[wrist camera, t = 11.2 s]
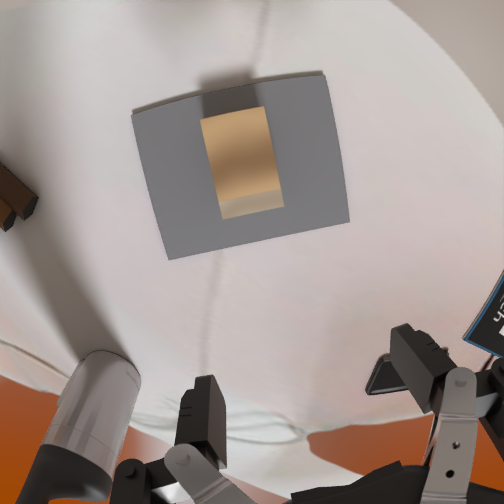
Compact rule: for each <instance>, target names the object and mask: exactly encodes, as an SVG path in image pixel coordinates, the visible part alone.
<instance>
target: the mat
mask: <svg viewBox="0 0 504 504" xmlns="http://www.w3.org/2000/svg"><path fill="white" fill-rule="evenodd" d="M262 106H264V109H265V114H266V118H267V123H268V127H269V132H270V137H271V142H272V147H273V151H274V156H275V161H276V166H277V171H278V177H279V182H280V187H281V191H282V197H283V202H284V207H279V208H274V209H270V210H265V211H260V212H255V213H251V214H246V215H241V216H237V217H232V218H228V219H223V218H222V214H221V210H220V206H219V201H218V197H217V193H216V188H215V184H214V180H213V176H212V171H211V167H210V163H209V158H208V154H207V150H206V145H205V141H204V136H203V132H202V127H201V123H200V120H201V119H205V118H209V117H213V116H218V115H222V114H227V113H231V112H236V111H241V110H246V109H251V108H257V107H262ZM131 118H132V123H133V128H134V132H135V137H136V142H137V146H138V150H139V155H140V159H141V163H142V167H143V171H144V175H145V179H146V183H147V187H148V191H149V195H150V198H151V202H152V206H153V209H154V213H155V216H156V220H157V223H158V227H159V230H160V234H161V237H162V240H163V244H164V247H165V250H166V253H167V257H168V260H173V259H177V258H182V257H186V256H191V255H196V254H200V253H205V252H210V251H214V250H219V249H224V248H228V247H233V246H238V245H242V244H247V243H252V242H257V241H261V240H266V239H271V238H276V237H280V236H285V235H290V234H295V233H299V232H304V231H309V230H314V229H319V228H324V227H329V226H333V225H338V224H343V223H348V222H350V219H349V210H348V201H347V193H346V186H345V178H344V172H343V165H342V158H341V152H340V146H339V140H338V135H337V129H336V124H335V119H334V114H333V109H332V104H331V99H330V94H329V90H328V86H327V81H326V77H325V75H318V76H307V77H297V78H289V79H281V80H274V81H267V82H261V83H255V84H249V85H243V86H238V87H233V88H228V89H223V90H219V91H214V92H210V93H206V94H202V95H197V96H194V97H190V98H186V99H182V100H179V101H175V102H171V103H168V104H165V105H161V106H158V107H155V108H152V109H149V110H145V111H142V112H139V113H136V114H134V115H131Z"/></svg>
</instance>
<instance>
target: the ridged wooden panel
mask: <svg viewBox="0 0 504 504" xmlns="http://www.w3.org/2000/svg"><path fill="white" fill-rule="evenodd" d="M38 199H39V197H38V196H37V195H36V194H35V193H33V192H32V191H31V190H30V189H29V188H28V187H27V186H25V185H24V184H23V183H22V182H21V181H20V180H19V179H18V178H17V177H16V176H14V175H13V174H12V173H11V172H10V171H9V170H8V169H7V168H6V167H5V166H4V165H3V164H2V163H1V162H0V227H1V228H2V229H3V230H4V231H5V232H6V231H7V230H9V229H10V228H11V227H12V226H13V224H14V221H15V218H16V215H18V216H19V217H21V218H22V219H23V220H24V221H25V220H26V219H27V218H28V217H29V216H31V215H32V214H33V211H34V209H35V206H36V203H37V201H38Z"/></svg>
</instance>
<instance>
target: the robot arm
mask: <svg viewBox="0 0 504 504" xmlns="http://www.w3.org/2000/svg"><path fill="white" fill-rule="evenodd" d="M390 359H391V363H392V365H393V367H394V368H395V370H396V371H397V373H398V374H399V376H400V377H401V379H402V380H403V382H404V383H405V385H406V386H407V388H408V389H409V391H410V393H411V394H412V396H413V397H414V399H415V400H416V402H417V404H418V405H419V407H420V408H421V410H422V411H423V413H424V414H426V413H428V412H430V411H433V412H434V414H435V415H434V418H433V423H432V428H431V432H430V437H429V440H428V445H427V448H426V452H425V455H424V458H423V460H422V463H421V465H404V466H402V465H401V463H400V461H396V462H394V463H392V464H389V465H386V466H384V467H381V468H379V469H376V470H374V471H372V472H371V473H369V474H367V475H366V476H364V477H362V478H360V479H359V480H357V481H355V482H354V483H352V484H350V485H345V486H332V487H317V488H313V489H309V490H305V491H300V492H295V493H291V498H292V499H291V500H289V501H286V502H285V503H283V504H504V491H500V490H496V489H493V488H489V487H486V486H482V485H479V484H476V483H473V482H470V481H469V480H470V474H471V469H472V464H473V459H474V451H475V445H476V437H477V428H478V419H479V421H480V422H481V424H482V426H483V427H484V429H485V430H486V432H487V434H488V435H489V437H490V439H491V440H492V442H493V443H494V445H495V447H496V449H497V450H498V452H499V454H500V456H501V458H502V459H503V461H504V357H502V358H498V359H496V360H495V361H494V362H493V364H492V366H491V369H489V370H485V371H481V372H476V373H474V372H473V371H472V370H470V369H468V368H465V367H457V365H456V364H455V363H454V362H453V361H452V360H451V359H450V357H449V356H448V355H447V354H446V353H445V352H444V351H443V350H442V349H441V348H440V346H439V345H438V344H437V343H435V341H434V340H433V339H432V338H431V336H430V335H429V334H427V333H425V332H423V331H421V330H418V331H415V330H414V329H413V328H412V327H411V326H410V325H409V324H408V323H405V324H403V325H400V326H397V327H394V328H392V329H391V339H390ZM140 387H141V379H140V376H139V373H138V372H137V370H136V369H135V368H134V367H133V366H132V365H131V364H130V363H129V362H128V361H127V360H125V359H124V358H122V357H120V356H118V355H116V354H114V353H111V352H107V351H95V352H93V353H90V354H89V355H88V356H87V358H86V359H85V360H82V361H80V362H79V364H78V365H77V367H76V369H75V371H74V372H73V374H72V376H71V377H70V379H69V381H68V383H67V385H66V386H65V388H64V390H63V392H62V394H61V395H60V397H59V399H58V401H57V407H58V410H57V412H56V414H55V416H54V418H53V420H52V422H51V424H50V426H49V429H48V431H47V433H46V435H45V437H44V439H43V441H42V444H41V446H40V448H39V450H38V452H37V455H36V457H35V460H34V462H33V465H32V467H31V469H30V472H29V474H28V477H27V479H26V481H25V483H24V486H23V488H22V490H21V493H20V494H19V497H18V499H17V501H16V503H15V504H48V502H49V501H50V500H52V499H58V498H60V499H61V498H67V499H76V500H82V501H89V502H102V501H105V500H107V499H108V497H109V495H110V492H111V496H110V503H109V504H176V503H177V502H181V501H184V500H187V499H191V498H192V499H193V500H194V503H195V504H257V503H255V502H254V501H253V500H252V499H251V498H249V497H248V496H247V495H246V494H245V493H244V492H243V491H241V490H240V489H239V488H238V487H237V486H236V485H235V484H234V483H232V482H231V481H230V480H229V479H226V478H225V477H224V476H223V475H222V474H221V473H220V472H219V469H227V454H226V405H225V400H224V397H223V395H222V393H221V390H220V388H219V386H218V384H217V381H216V379H215V377H214V375H206V376H200V377H196V379H195V386H194V389H190V390H187V391H186V392H185V394H184V395H183V397H182V398H181V403H180V410H179V417H178V423H177V430H176V437H175V444H174V447H172V448H171V449H169V450H168V452H167V453H166V455H165V457H164V458H162V459H160V460H156V461H153V462H150V463H146V464H143V463H142V462H141V461H140V460H137V459H127V460H124V461H122V462H121V463H120V464H119V465H118V466H117V464H118V460H119V456H120V453H121V449H122V446H123V442H124V439H125V435H126V432H127V429H128V425H129V422H130V419H131V415H132V412H133V409H134V406H135V402H136V399H137V396H138V393H139V390H140ZM112 484H113V485H112ZM111 488H112V491H111Z"/></svg>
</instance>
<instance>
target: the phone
mask: <svg viewBox="0 0 504 504" xmlns="http://www.w3.org/2000/svg"><path fill="white" fill-rule="evenodd" d="M443 351H444V352H445V353H446V354H447V355H448V356H449V353H448V352H447V351H446V350H443ZM373 374H374V375H373ZM372 376H373V377H372ZM405 390H409V389H408V388H407V386H406V385H405V383H404V382H403V380H402V379H401V377H400V376H399V374H398V373H397V371H396V370H395V368H394V367H393V365H392V363H391V359H390V356H387V357H383V358H381V359H379V361H378V362H377V364H376V366H375V368H374V371H373V373H372V375H371V377H370V380H369V382H368V384H367V386H366V388H365V391H366V393H367V395H378V394H385V393H392V392H399V391H405Z"/></svg>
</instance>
